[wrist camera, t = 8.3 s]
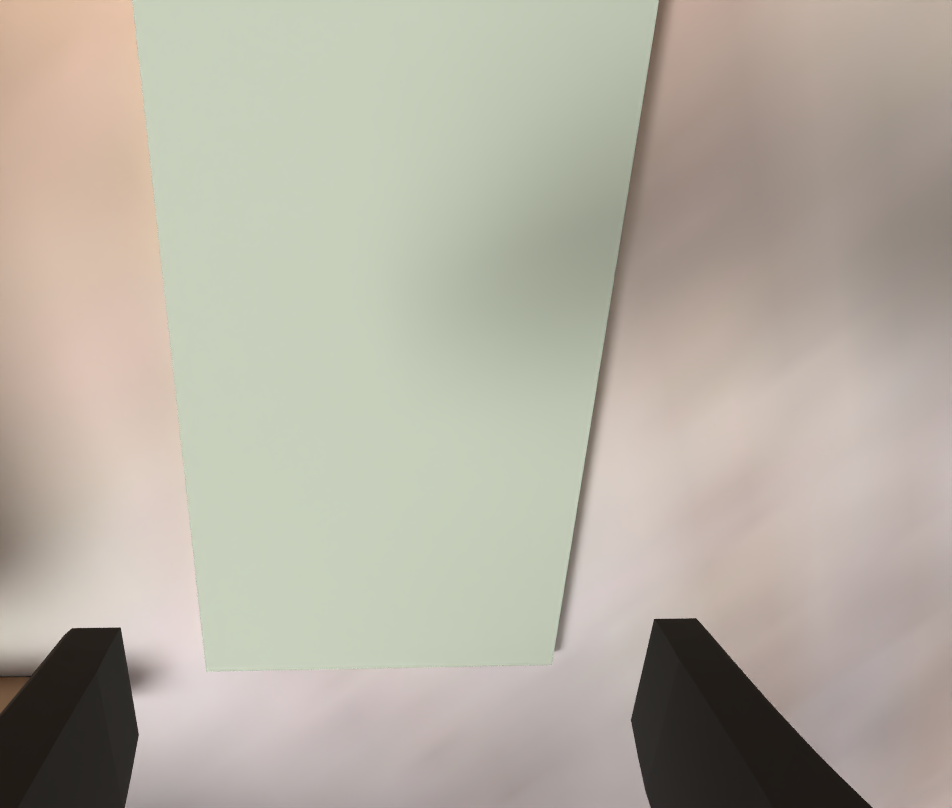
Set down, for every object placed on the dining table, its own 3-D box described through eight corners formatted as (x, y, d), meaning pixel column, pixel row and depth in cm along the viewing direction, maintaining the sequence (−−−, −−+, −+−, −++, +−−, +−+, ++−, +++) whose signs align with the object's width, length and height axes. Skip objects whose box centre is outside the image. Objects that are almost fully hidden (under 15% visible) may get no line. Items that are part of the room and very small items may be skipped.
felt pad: (549, 653, 24) (551, 665, 24) (208, 659, 23) (206, 671, 23) (659, -42, 16) (665, -41, 15) (128, -83, 15) (123, -82, 14)
